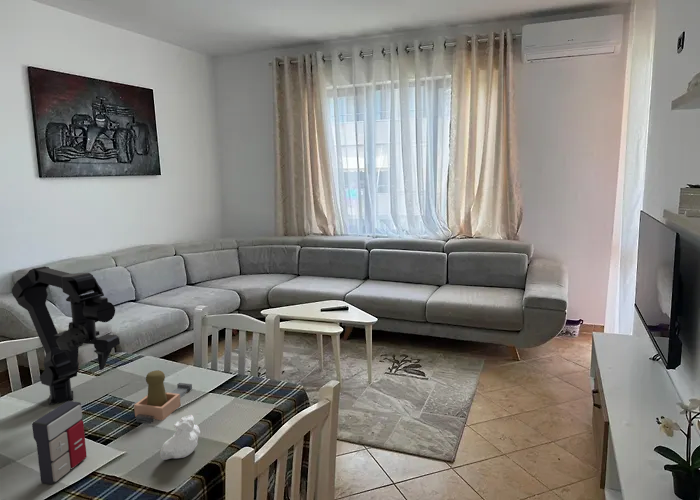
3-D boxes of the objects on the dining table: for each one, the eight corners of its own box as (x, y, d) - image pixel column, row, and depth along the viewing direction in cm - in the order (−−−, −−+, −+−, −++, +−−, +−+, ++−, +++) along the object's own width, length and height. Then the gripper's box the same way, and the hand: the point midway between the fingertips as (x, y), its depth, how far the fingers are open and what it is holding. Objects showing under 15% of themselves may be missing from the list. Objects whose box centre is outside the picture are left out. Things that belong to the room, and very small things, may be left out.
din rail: (136, 422, 138) (136, 416, 138) (179, 387, 159) (179, 382, 159) (150, 423, 137) (150, 417, 137) (192, 389, 158) (191, 384, 158)
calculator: (54, 485, 111) (47, 425, 108) (38, 483, 112) (31, 423, 109) (89, 457, 121) (83, 401, 119) (74, 455, 122) (68, 400, 120)
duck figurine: (165, 474, 118) (184, 448, 114) (146, 450, 120) (164, 424, 116) (201, 449, 129) (219, 424, 124) (183, 427, 131) (201, 402, 126)
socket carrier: (135, 416, 141) (134, 404, 141) (154, 402, 150) (153, 390, 149) (162, 420, 139) (162, 408, 139) (180, 405, 148) (179, 393, 147)
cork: (145, 404, 146) (143, 370, 144) (167, 400, 148) (164, 366, 146) (147, 414, 140) (144, 378, 138) (169, 409, 143) (167, 374, 141)
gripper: (32, 323, 135) (39, 376, 138) (90, 328, 131) (95, 383, 134) (64, 311, 146) (69, 361, 148) (118, 316, 142) (122, 366, 144)
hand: (88, 367), depth 143 cm, fingers open, 9 cm apart
